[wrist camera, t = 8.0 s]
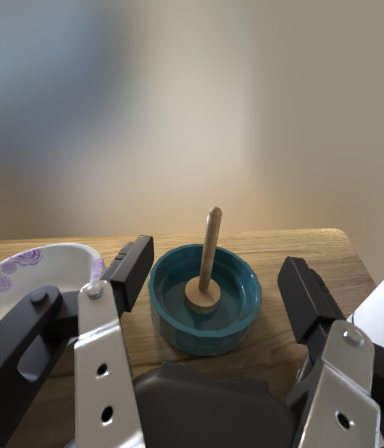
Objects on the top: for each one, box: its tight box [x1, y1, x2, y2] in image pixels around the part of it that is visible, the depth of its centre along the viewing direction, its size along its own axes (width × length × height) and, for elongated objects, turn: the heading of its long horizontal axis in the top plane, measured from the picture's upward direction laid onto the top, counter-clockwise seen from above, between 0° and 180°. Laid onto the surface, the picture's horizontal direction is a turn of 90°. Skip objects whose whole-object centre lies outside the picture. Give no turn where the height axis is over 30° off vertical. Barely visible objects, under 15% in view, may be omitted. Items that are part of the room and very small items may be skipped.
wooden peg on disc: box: [185, 207, 222, 314], centre depth 25 cm, size 6×6×17 cm
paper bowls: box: [0, 243, 106, 346], centre depth 24 cm, size 15×15×8 cm
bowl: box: [148, 244, 262, 356], centre depth 28 cm, size 16×16×6 cm
